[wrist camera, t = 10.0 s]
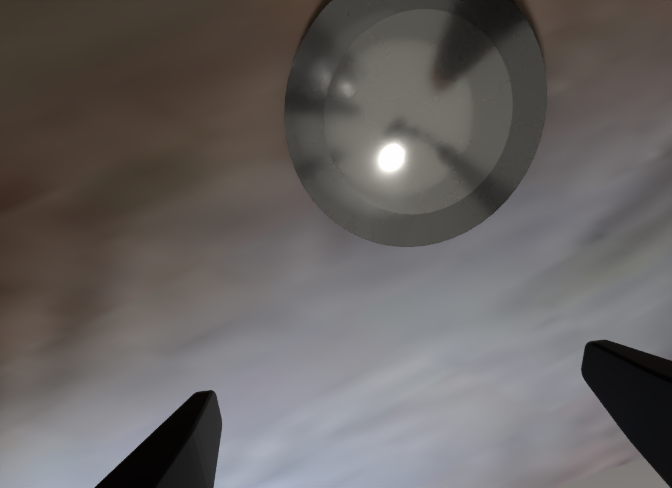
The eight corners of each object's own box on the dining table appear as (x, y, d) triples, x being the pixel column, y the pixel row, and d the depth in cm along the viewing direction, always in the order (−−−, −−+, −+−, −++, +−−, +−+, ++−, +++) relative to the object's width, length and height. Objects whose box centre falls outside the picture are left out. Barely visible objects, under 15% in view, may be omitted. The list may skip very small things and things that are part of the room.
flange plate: (544, -43, 17) (561, -55, 16) (527, 226, 22) (539, 231, 20) (264, -16, 17) (261, -27, 16) (304, 256, 21) (304, 263, 20)
